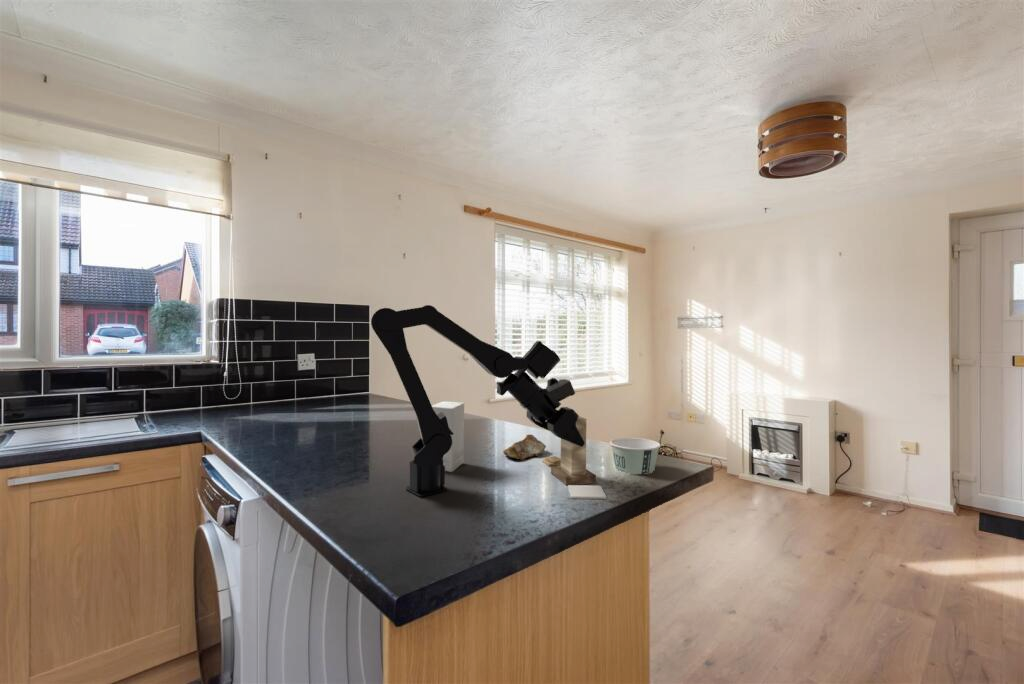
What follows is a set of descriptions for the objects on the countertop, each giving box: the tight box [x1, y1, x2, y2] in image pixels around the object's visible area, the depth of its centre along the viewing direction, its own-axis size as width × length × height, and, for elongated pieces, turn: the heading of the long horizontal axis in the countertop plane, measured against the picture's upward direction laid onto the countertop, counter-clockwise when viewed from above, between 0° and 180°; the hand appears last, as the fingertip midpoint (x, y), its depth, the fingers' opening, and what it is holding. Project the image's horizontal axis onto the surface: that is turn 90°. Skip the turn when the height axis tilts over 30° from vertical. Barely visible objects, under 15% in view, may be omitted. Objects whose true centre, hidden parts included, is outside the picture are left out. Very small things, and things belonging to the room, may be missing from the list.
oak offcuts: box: [542, 455, 561, 468], centre depth 118 cm, size 4×5×1 cm
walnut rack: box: [550, 466, 597, 486], centre depth 107 cm, size 7×9×2 cm
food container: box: [609, 437, 662, 475], centre depth 114 cm, size 12×12×7 cm
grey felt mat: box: [567, 484, 607, 500], centre depth 97 cm, size 7×7×1 cm
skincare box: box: [431, 401, 465, 473], centre depth 115 cm, size 8×7×16 cm
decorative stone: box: [502, 434, 547, 461], centre depth 127 cm, size 10×4×15 cm
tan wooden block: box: [560, 415, 587, 476], centre depth 106 cm, size 4×6×14 cm, turn 16°
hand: (574, 440), depth 106 cm, fingers open, 9 cm apart
